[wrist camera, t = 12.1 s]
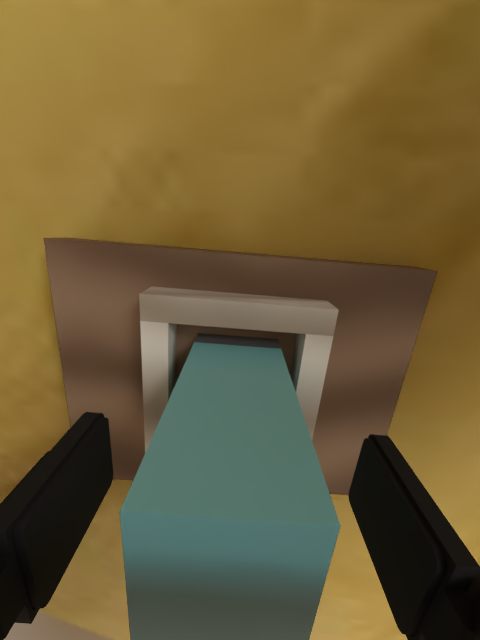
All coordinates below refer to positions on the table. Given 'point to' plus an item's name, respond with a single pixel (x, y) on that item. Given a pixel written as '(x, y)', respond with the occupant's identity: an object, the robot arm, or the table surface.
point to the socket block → (238, 320)
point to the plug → (228, 505)
